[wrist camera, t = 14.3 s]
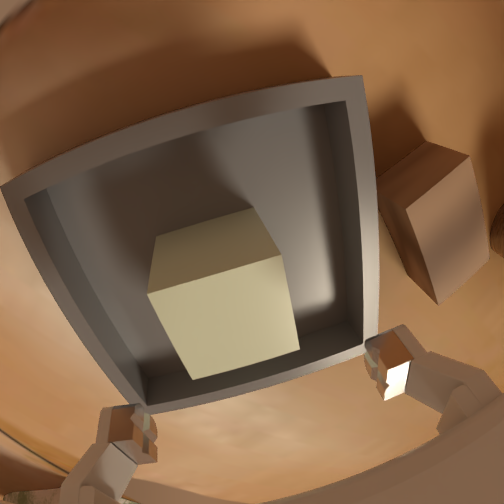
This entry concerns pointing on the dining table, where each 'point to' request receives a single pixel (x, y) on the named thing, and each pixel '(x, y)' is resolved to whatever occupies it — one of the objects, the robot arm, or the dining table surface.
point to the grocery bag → (41, 497)
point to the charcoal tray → (206, 208)
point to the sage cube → (222, 294)
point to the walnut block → (435, 218)
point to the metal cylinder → (498, 233)
